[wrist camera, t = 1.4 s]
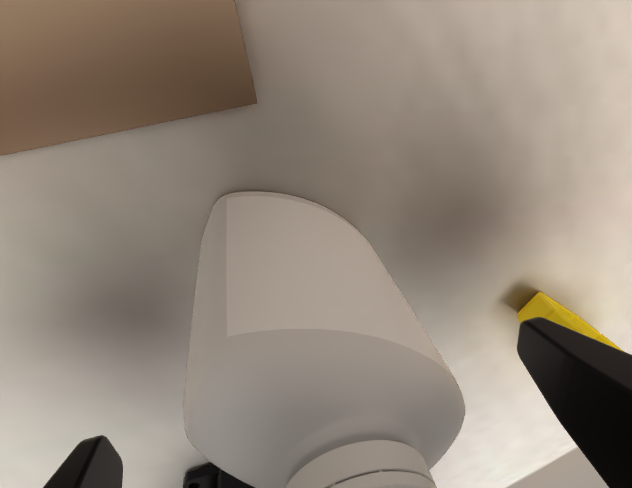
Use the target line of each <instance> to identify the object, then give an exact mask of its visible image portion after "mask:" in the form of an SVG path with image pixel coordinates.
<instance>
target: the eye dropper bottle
mask: <svg viewBox="0 0 632 488" xmlns="http://www.w3.org/2000/svg"><path fill="white" fill-rule="evenodd" d="M183 408H184V426H185V431H186V435H187V438H188V439H189V441H190V442H191V444H192V445H193V446H194V447H195V448H196V449H197V450H198V451H199V452H200V453H201V454H202V455H203V456H204V457H205V458H206V459H207V460H209V461H210V462H211V463H213V464H214V465H216V466H217V467H219V468H220V469H222V470H223V471H225V472H227V473H229V474H230V475H232V476H234V477H236V478H237V479H239V480H241V481H243V482H245V483H247V484H249V485H251V486H253V487H255V488H437V487H436V485H435V483H434V480H433V478H432V476H431V474H430V472H429V470H430V469H431V468H432V467H433V466H434V465H435V464H436V463H437V462H438V461H439V460H440V459H441V457H442V456H443V455H444V454H445V453H446V451H447V450H448V449H449V447H450V446H451V445H452V443H453V442H454V440H455V438H456V437H457V435H458V433H459V431H460V429H461V426H462V423H463V420H464V416H465V405H464V400H463V397H462V393H461V391H460V388H459V386H458V384H457V382H456V380H455V378H454V376H453V375H452V373H451V371H450V370H449V368H448V366H447V365H446V363H445V362H444V360H443V358H442V357H441V355H440V353H439V352H438V350H437V348H436V347H435V345H434V343H433V342H432V340H431V339H430V337H429V336H428V334H427V332H426V331H425V329H424V328H423V326H422V325H421V323H420V322H419V320H418V318H417V317H416V315H415V314H414V312H413V311H412V309H411V307H410V306H409V304H408V303H407V301H406V300H405V298H404V296H403V295H402V293H401V292H400V290H399V289H398V287H397V286H396V284H395V283H394V281H393V279H392V278H391V276H390V275H389V273H388V272H387V270H386V269H385V267H384V266H383V264H382V262H381V261H380V259H379V258H378V256H377V255H376V253H375V252H374V250H373V249H372V247H371V245H370V244H369V242H368V241H367V240H366V238H365V237H364V236H363V235H362V234H361V233H360V232H359V231H358V230H357V229H356V228H355V227H354V226H353V225H352V224H350V223H349V222H348V221H346V220H345V219H344V218H342V217H341V216H339V215H338V214H336V213H335V212H333V211H331V210H329V209H328V208H326V207H324V206H322V205H319V204H317V203H315V202H312V201H309V200H307V199H303V198H300V197H296V196H292V195H287V194H282V193H274V192H261V191H249V192H236V193H229V194H227V195H225V196H222V197H220V198H219V199H218V200H217V202H216V203H215V204H214V206H213V208H212V211H211V213H210V216H209V219H208V222H207V225H206V228H205V231H204V235H203V238H202V242H201V248H200V256H199V264H198V272H197V281H196V289H195V298H194V306H193V315H192V324H191V333H190V342H189V350H188V359H187V370H186V381H185V392H184V403H183Z"/></svg>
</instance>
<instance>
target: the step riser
mask: <svg viewBox="0 0 632 488" xmlns="http://www.w3.org/2000/svg"><path fill="white" fill-rule="evenodd" d="M256 103H257V99H256V94H255V90H254V86H253V81H252V77H251V72H250V68H249V63H248V59H247V55H246V50H245V46H244V41H243V37H242V32H241V28H240V24H239V19H238V15H237V10H236V6H235V1H234V0H0V156H2V155H7V154H11V153H16V152H21V151H26V150H31V149H36V148H41V147H46V146H51V145H55V144H60V143H65V142H70V141H75V140H80V139H85V138H90V137H94V136H99V135H104V134H109V133H114V132H119V131H124V130H129V129H134V128H138V127H143V126H148V125H153V124H158V123H163V122H168V121H173V120H177V119H182V118H187V117H192V116H197V115H202V114H207V113H212V112H217V111H221V110H226V109H231V108H236V107H241V106H246V105H251V104H256Z"/></svg>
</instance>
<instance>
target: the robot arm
mask: <svg viewBox="0 0 632 488" xmlns="http://www.w3.org/2000/svg"><path fill="white" fill-rule="evenodd" d="M517 351H518V355H519V357H520V359H521V361H522V362H523V364H524V365H525V367H526V369H527V370H528V372H529V374H530V375H531V377H532V378H533V380H534V382H535V383H536V385H537V387H538V388H539V390H540V391H541V393H542V395H543V396H544V398H545V400H546V401H547V403H548V404H549V406H550V408H551V409H552V411H553V412H554V414H555V415H556V417H557V419H558V420H559V422H560V423H561V424H562V426H563V427H564V428H565V430H566V431H567V433H568V434H569V435H570V436H571V438H572V439H573V440H574V442H575V443H576V444H577V446H578V447H579V448H580V450H581V451H582V452H583V454H584V455H585V456H586V458H587V459H588V460H589V461H590V463H591V464H592V465H593V467H594V468H595V470H596V471H597V472H598V473H599V475H600V476H601V477H602V479H603V480H604V481H605V483H606V484H607V485H608V486H609V488H632V355H631V354H628V353H626V352H623V351H621V350H619V349H616V348H614V347H612V346H609V345H607V344H605V343H602V342H600V341H597V340H595V339H593V338H590V337H588V336H586V335H583V334H581V333H579V332H576V331H574V330H571V329H569V328H567V327H564V326H562V325H560V324H557V323H555V322H553V321H550V320H548V319H545V318H543V317H535V318H531V319H527V320H524V321H522V323H521V324H520V328H519V336H518V344H517ZM122 478H123V464H122V460H121V457H120V456H119V454H118V453H117V451H116V450H115V449H114V447H113V446H112V444H111V443H110V441H109V440H108V439H107V437H105V436H103V435H100V436H96V437H93V438H89V439H85V440H83V441H81V442H80V443H79V444H78V445H77V446H76V448H75V449H74V450H73V451H72V452H71V454H70V455H69V456H68V457H67V459H66V460H65V461H64V462H63V464H62V465H61V466H60V467H59V468H58V470H57V471H56V472H55V473H54V475H53V476H52V477H51V478H50V480H49V481H48V482H47V483H46V485H45V486H44V487H43V488H122ZM183 488H255V487H253V486H251V485H249V484H247V483H245V482H243V481H241V480H239V479H237V478H236V477H234V476H232V475H230V474H229V473H227V472H225V471H223V470H222V469H220V468H219V467H217V466H216V465H213V466H210V467H206V468H203V469H199V470H196V471H192V472H190V473H187V474H186V475H185V477H184V481H183Z"/></svg>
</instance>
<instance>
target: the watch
mask: <svg viewBox="0 0 632 488" xmlns="http://www.w3.org/2000/svg"><path fill="white" fill-rule="evenodd" d="M535 317H543V318H545V319H548V320H550V321H553V322H555V323H557V324H560V325H562V326H564V327H567V328H569V329H571V330H574V331H576V332H579V333H581V334H583V335H586V336H588V337H590V338H593V339H595V340H597V341H600V342H602V343H605V344H607V345H609V346H612V347H614V348H616V349H619V350H621V349H620V348H619V347H618V346H616V345H615V344H614V343H612V342H611V341H610V340H609V339H607V338H606V337H605V336H604V335H602V334H600V333H599V332H598V331H597V330H596V329H594V328H593V327H592V326H590V325H589V324H588V323H586V322H585V321H584V320H582V319H581V318H580V317H578V316H577V315H576V314H574V313H572V312H571V311H569V310H568V309H566V308H565V307H563V306H562V305H560V304H559V303H557V302H556V301H554V300H552V299H551V298H549V297H548V296H546V295H545V294H544V293H543V292H542V291H541V292H538V293H537V294H536V295H535V296H534V297H533V298H532V299H531V300H530V301H529V302H528V303H527V304H526V305H525V306H524V307H523V308H522V309H521V310H520V311H519V312H518V320H519V321H520V323H522V321H524V320H527V319H531V318H535ZM621 351H623V350H621ZM623 352H624V351H623Z"/></svg>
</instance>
